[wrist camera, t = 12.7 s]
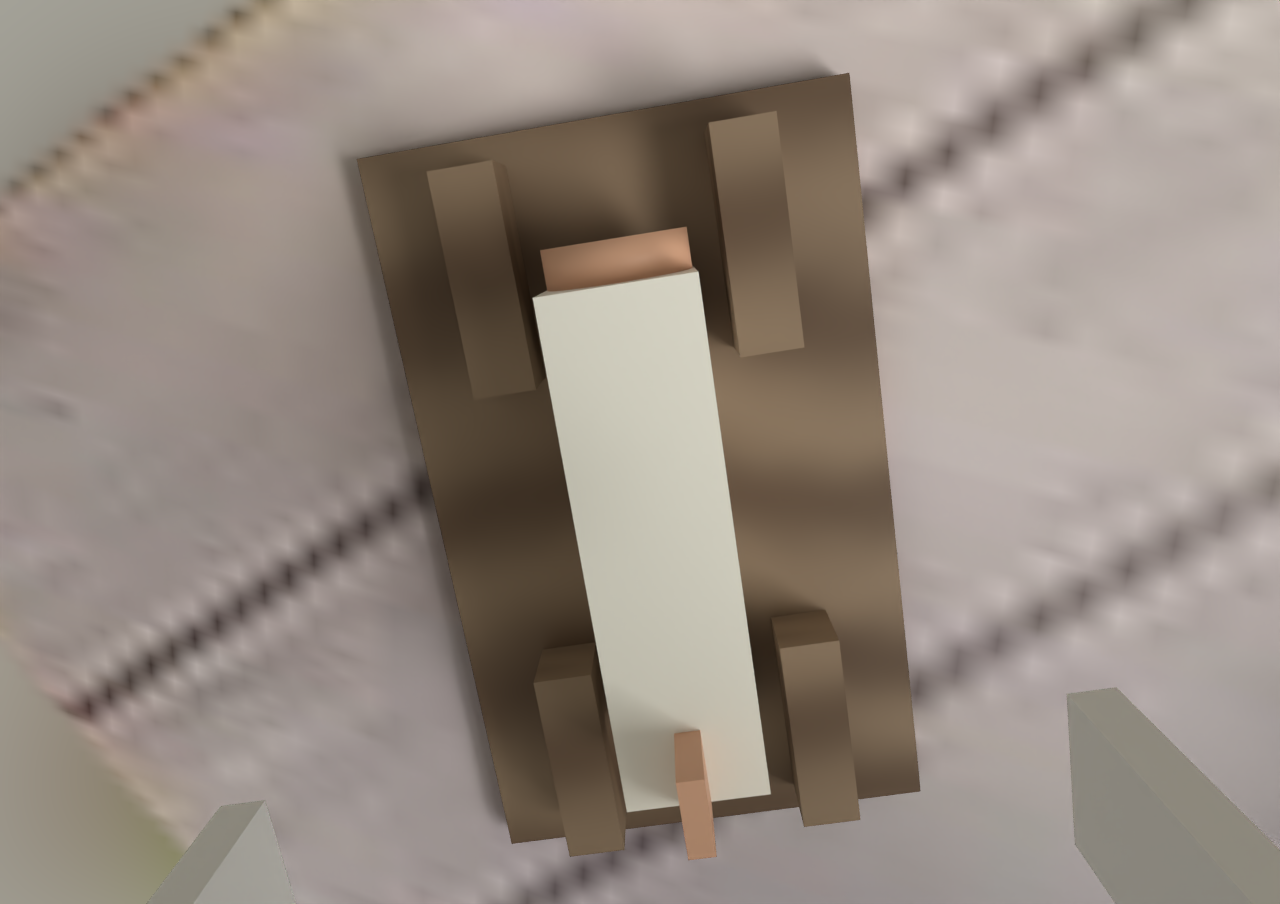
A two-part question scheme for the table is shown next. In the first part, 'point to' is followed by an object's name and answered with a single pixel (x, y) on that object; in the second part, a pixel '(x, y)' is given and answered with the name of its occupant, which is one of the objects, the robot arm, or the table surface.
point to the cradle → (749, 423)
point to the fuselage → (654, 522)
